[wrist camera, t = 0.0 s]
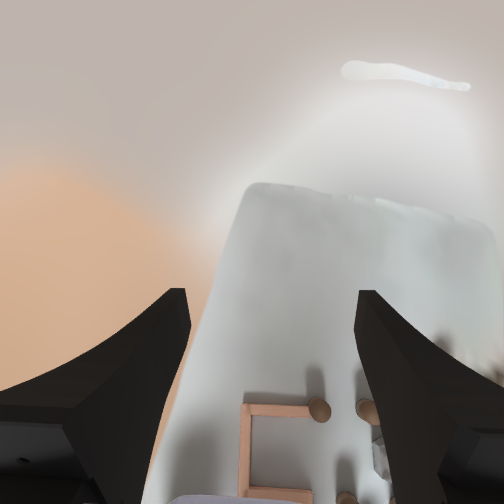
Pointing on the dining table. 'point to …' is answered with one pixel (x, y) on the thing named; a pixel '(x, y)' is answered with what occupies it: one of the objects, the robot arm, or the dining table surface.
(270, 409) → the parts bay
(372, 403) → the walnut spacers
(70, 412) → the robot arm
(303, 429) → the dining table surface
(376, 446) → the steel nut
